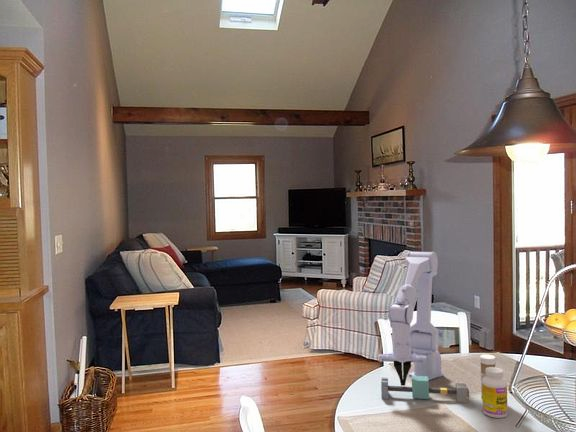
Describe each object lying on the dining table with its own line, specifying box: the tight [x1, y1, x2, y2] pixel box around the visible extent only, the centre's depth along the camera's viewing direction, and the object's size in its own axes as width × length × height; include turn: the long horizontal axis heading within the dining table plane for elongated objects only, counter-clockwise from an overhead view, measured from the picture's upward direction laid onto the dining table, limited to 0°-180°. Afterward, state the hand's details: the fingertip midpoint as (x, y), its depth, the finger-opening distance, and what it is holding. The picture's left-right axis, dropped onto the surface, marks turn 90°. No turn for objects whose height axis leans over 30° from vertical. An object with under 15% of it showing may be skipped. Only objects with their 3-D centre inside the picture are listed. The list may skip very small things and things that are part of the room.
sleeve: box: [411, 376, 430, 400], centre depth 149 cm, size 5×4×6 cm
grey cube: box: [455, 382, 470, 404], centre depth 146 cm, size 4×4×4 cm
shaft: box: [388, 385, 457, 395], centre depth 149 cm, size 23×1×1 cm, turn 77°
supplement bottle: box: [481, 366, 508, 419], centre depth 136 cm, size 7×7×13 cm
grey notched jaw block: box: [380, 377, 390, 400], centre depth 151 cm, size 2×5×5 cm, turn 167°
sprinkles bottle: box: [479, 353, 497, 399], centre depth 146 cm, size 5×5×13 cm
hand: (403, 384), depth 150 cm, fingers closed
